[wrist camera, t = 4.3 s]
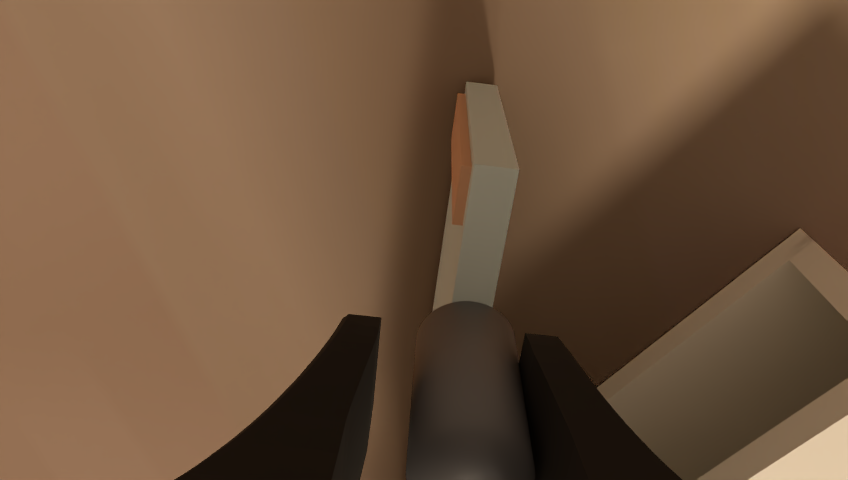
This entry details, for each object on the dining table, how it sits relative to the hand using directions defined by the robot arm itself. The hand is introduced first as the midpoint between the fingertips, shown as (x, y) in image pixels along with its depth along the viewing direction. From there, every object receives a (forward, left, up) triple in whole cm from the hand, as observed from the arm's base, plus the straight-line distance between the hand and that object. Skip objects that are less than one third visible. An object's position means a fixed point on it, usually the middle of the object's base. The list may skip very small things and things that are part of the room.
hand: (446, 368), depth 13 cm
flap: (-3, -3, -7) cm, 8 cm away
